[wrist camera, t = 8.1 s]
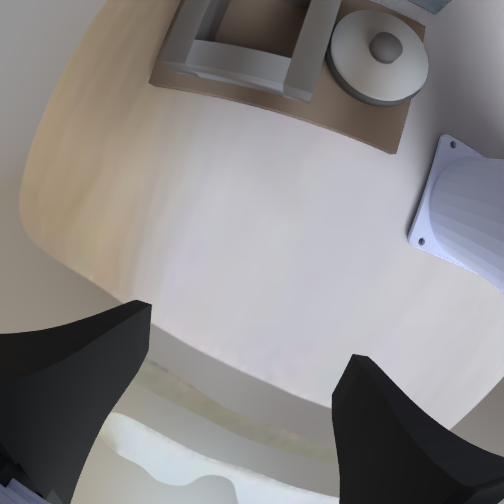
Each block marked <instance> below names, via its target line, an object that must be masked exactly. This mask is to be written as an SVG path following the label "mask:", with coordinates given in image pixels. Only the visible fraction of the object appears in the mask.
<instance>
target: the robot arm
mask: <svg viewBox="0 0 504 504" xmlns="http://www.w3.org/2000/svg"><path fill="white" fill-rule="evenodd" d="M451 141H452V142H453V144H454V147H453V148H452V147H451V145H450V143H451ZM420 238H422V239H423V242H422V243H421V244H419V243H418V241H419V239H420ZM408 242H409V244H411V245H412V246H414V247H416V248H419V249H421V250H424V251H426V252H428V253H431V254H433V255H435V256H438V257H440V258H443V259H445V260H447V261H449V262H452V263H454V264H456V265H459V266H461V267H463V268H465V269H468V270H470V271H472V272H474V273H476V274H478V275H479V276H481V277H482V278H484V279H485V280H486V281H488V282H489V283H490V284H492V285H493V286H494V287H496V288H497V289H498V290H500V291H501V292H502V293H504V159H492V158H485V157H484V156H482V155H481V154H479V153H478V152H476V151H475V150H473V149H471V148H470V147H468V146H467V145H465V144H464V143H462V142H460V141H459V140H457V139H455V138H454V137H452V136H450V135H448V134H444V135H441V136H440V139H439V143H438V146H437V150H436V154H435V157H434V161H433V164H432V168H431V171H430V174H429V177H428V181H427V184H426V187H425V190H424V193H423V196H422V199H421V202H420V205H419V208H418V210H417V213H416V216H415V219H414V221H413V224H412V227H411V229H410V232H409V234H408ZM151 309H152V305H151V304H148V303H145V302H142V301H139V300H134V301H131V302H128V303H125V304H122V305H120V306H117V307H115V308H112V309H110V310H107V311H104V312H102V313H99V314H96V315H94V316H91V317H88V318H85V319H82V320H78V321H75V322H72V323H69V324H66V325H62V326H58V327H54V328H49V329H44V330H39V331H30V332H22V333H11V334H0V504H70V503H71V499H72V497H73V493H74V490H75V487H76V485H77V482H78V479H79V476H80V474H81V471H82V469H83V466H84V464H85V461H86V459H87V457H88V454H89V452H90V450H91V448H92V445H93V443H94V441H95V439H96V437H97V435H98V433H99V431H100V429H101V427H102V425H103V423H104V421H105V420H106V418H107V416H108V415H109V413H110V412H111V410H112V409H113V407H114V406H115V404H116V403H117V401H118V400H119V398H120V397H121V395H122V394H123V393H124V391H125V390H126V388H127V387H128V386H129V384H130V383H131V381H132V380H133V378H134V377H135V375H136V374H137V372H138V371H139V369H140V367H141V365H142V363H143V361H144V359H145V357H146V355H147V352H148V349H149V334H150V321H151ZM332 422H333V429H334V436H335V442H336V449H337V456H338V463H339V473H340V500H339V504H498V503H499V502H500V501H501V500H503V499H504V457H502V456H499V455H496V454H493V453H490V452H488V451H486V450H483V449H481V448H479V447H477V446H475V445H473V444H471V443H469V442H467V441H465V440H463V439H462V438H460V437H458V436H457V435H455V434H454V433H452V432H450V431H449V430H447V429H446V428H445V427H443V426H442V425H440V424H439V423H438V422H436V421H435V420H434V419H433V418H431V417H430V416H429V415H428V414H426V413H425V412H424V411H423V410H422V409H421V408H419V407H418V406H417V405H416V404H415V403H414V402H413V401H412V400H411V399H410V398H409V397H408V396H407V395H406V394H405V393H404V392H403V391H402V390H401V389H400V388H399V387H398V386H397V385H396V384H395V383H394V382H393V381H392V380H391V379H390V378H389V377H388V376H387V375H386V374H385V373H384V372H383V370H382V369H381V368H380V367H379V366H378V365H377V364H376V363H375V362H374V361H372V360H371V359H370V358H369V357H368V356H362V355H356V354H352V356H351V359H350V361H349V363H348V365H347V367H346V369H345V371H344V373H343V375H342V377H341V379H340V380H339V382H338V384H337V386H336V388H335V390H334V392H333V394H332Z"/></svg>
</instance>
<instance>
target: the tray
mask: <svg viewBox="0 0 504 504" xmlns="http://www.w3.org/2000/svg"><path fill="white" fill-rule="evenodd" d="M408 1H410V2H412V3H415V4H417V5H419V6H420V7H422V8H424V9H426V10H428V11H430V12H432V13H434V14H436V13H438V12H439V11H440V10H441V9H442V8H443V7H444V6H445V5H446V4H447V3H449V2H450V1H451V0H408Z"/></svg>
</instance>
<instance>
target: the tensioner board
mask: <svg viewBox="0 0 504 504" xmlns="http://www.w3.org/2000/svg"><path fill="white" fill-rule="evenodd" d="M424 32H425V26H424V25H422V24H420V23H418V22H416V21H414V20H412V19H410V18H408V17H406V16H404V15H401V14H399V13H397V12H395V11H393V10H390V9H388V8H386V7H383V6H381V5H378V4H376V3H373V2H371V1H368V0H181V2H180V4H179V7H178V9H177V11H176V13H175V15H174V18H173V20H172V22H171V25H170V27H169V29H168V32H167V34H166V37H165V39H164V42H163V44H162V47H161V49H160V52H159V55H158V57H157V60H156V63H155V66H154V69H153V71H152V74H151V77H150V80H149V83H150V84H152V85H154V86H158V87H165V88H171V89H177V90H183V91H188V92H194V93H199V94H204V95H209V96H213V97H218V98H222V99H227V100H231V101H235V102H239V103H243V104H247V105H251V106H255V107H259V108H262V109H266V110H270V111H273V112H277V113H280V114H283V115H287V116H290V117H293V118H296V119H299V120H303V121H306V122H309V123H312V124H315V125H318V126H320V127H323V128H326V129H329V130H332V131H334V132H337V133H340V134H343V135H345V136H348V137H350V138H353V139H355V140H358V141H360V142H363V143H365V144H368V145H370V146H373V147H375V148H377V149H380V150H382V151H384V152H387V153H389V154H396V152H397V148H398V145H399V142H400V138H401V135H402V131H403V127H404V124H405V120H406V116H407V112H408V109H409V105H410V101H411V98H413V97H414V96H415V95H416V94H417V93H418V92H419V91H420V89H421V88H422V86H423V84H424V82H425V80H426V78H427V75H428V69H429V62H428V56H427V53H426V50H425V47H424V45H423V38H424Z"/></svg>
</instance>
